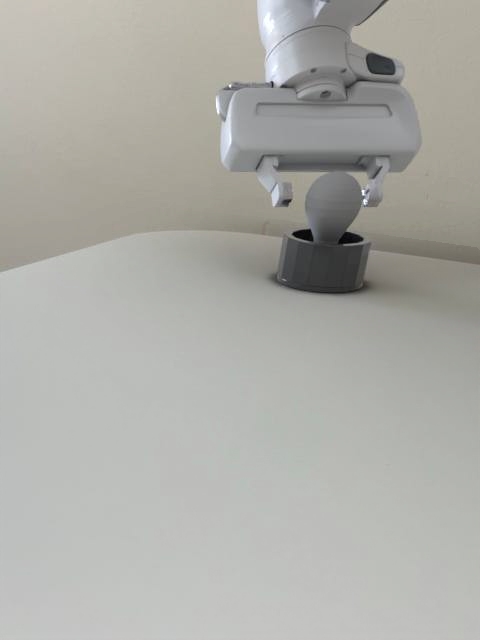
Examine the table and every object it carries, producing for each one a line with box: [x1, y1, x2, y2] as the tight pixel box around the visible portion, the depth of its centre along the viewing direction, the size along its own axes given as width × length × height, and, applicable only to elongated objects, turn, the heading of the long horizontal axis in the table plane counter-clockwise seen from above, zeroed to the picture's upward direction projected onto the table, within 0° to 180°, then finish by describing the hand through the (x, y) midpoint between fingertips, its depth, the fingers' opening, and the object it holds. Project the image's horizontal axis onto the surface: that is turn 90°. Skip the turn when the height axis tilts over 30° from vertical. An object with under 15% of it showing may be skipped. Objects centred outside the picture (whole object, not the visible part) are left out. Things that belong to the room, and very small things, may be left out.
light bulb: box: [304, 171, 363, 244], centre depth 100 cm, size 6×6×10 cm
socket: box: [276, 226, 373, 294], centre depth 102 cm, size 9×9×4 cm
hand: (328, 203), depth 100 cm, fingers open, 8 cm apart
